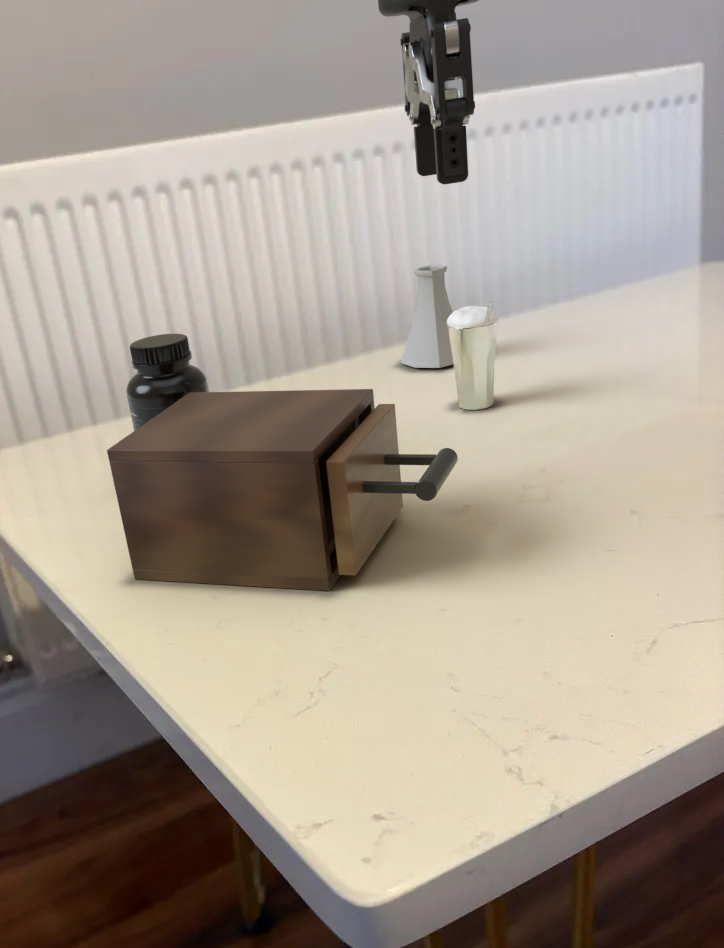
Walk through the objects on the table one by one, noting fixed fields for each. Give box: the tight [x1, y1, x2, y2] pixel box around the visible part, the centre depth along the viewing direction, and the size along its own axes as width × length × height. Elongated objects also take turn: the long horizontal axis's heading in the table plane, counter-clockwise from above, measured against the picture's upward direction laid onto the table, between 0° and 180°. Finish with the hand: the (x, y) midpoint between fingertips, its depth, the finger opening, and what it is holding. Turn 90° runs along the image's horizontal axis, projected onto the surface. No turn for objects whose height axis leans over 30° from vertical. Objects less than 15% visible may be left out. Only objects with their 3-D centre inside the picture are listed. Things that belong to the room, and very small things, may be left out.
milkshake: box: [447, 301, 499, 411], centre depth 94 cm, size 5×5×10 cm
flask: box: [400, 264, 454, 369], centre depth 110 cm, size 7×7×10 cm
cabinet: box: [106, 388, 376, 592], centre depth 72 cm, size 15×13×10 cm
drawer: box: [318, 403, 459, 577], centre depth 70 cm, size 18×11×8 cm, turn 68°
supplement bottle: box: [126, 333, 210, 432], centre depth 87 cm, size 7×7×12 cm
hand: (441, 178), depth 79 cm, fingers open, 8 cm apart
